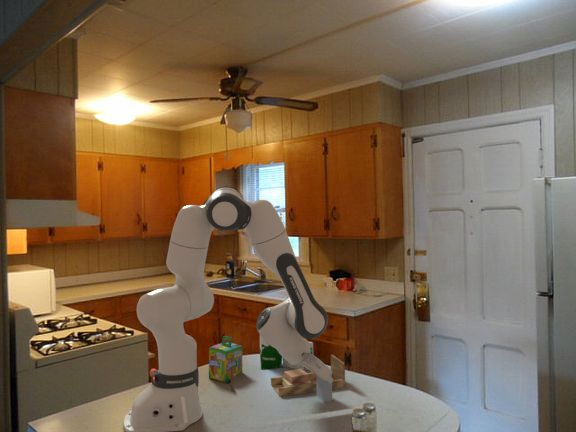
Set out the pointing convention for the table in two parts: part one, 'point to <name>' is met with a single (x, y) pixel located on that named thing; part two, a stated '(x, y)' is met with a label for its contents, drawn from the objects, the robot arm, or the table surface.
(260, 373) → the table surface
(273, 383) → the rack
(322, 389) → the tall board
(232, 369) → the chalk box
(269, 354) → the milk carton
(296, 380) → the offcut top
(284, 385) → the offcut low
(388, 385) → the table surface
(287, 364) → the light bulb box
